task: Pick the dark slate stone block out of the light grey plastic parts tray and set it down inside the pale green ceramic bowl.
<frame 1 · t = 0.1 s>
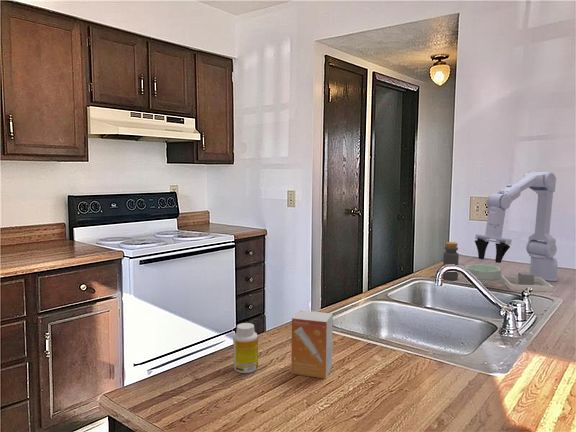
hand: (489, 260, 175), 10 cm above the countertop, tool pointing down, fingers open, 7 cm apart
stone: (525, 286, 180), resting in parts tray
supplement bottle: (245, 369, 107), on the countertop
bottle: (450, 279, 191), on the countertop
parts tray: (525, 285, 180), on the countertop
small box: (312, 371, 105), on the countertop
bowl: (482, 276, 196), on the countertop
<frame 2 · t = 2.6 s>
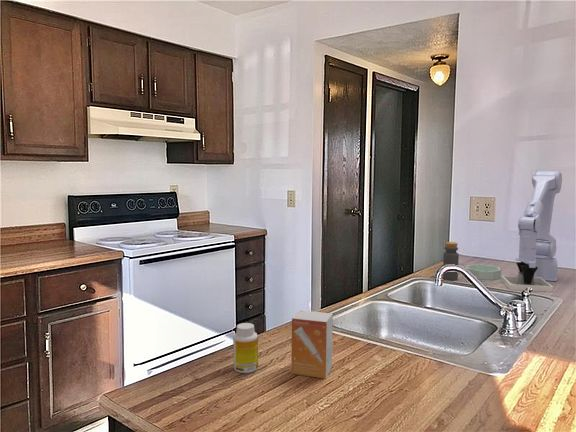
hand: (525, 282, 179), 1 cm above the countertop, tool pointing down, fingers closed on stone, 4 cm apart
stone: (525, 286, 180), resting in parts tray, touching gripper
everything else where it was.
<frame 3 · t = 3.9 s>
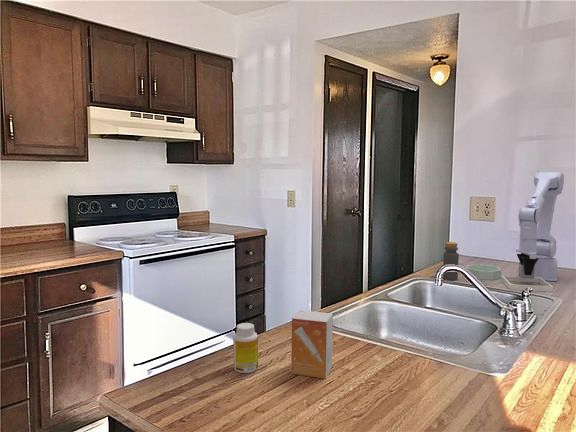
hand: (526, 273, 179), 5 cm above the countertop, tool pointing down, fingers closed on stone, 4 cm apart
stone: (526, 277, 179), point 3 cm above the countertop, touching gripper
everything else where it was.
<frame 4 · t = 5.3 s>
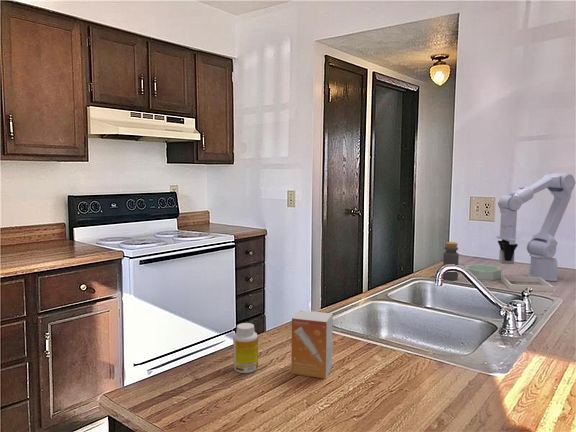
hand: (506, 259, 186), 9 cm above the countertop, tool pointing down, fingers closed on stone, 4 cm apart
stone: (506, 263, 186), point 7 cm above the countertop, touching gripper
everything else where it was.
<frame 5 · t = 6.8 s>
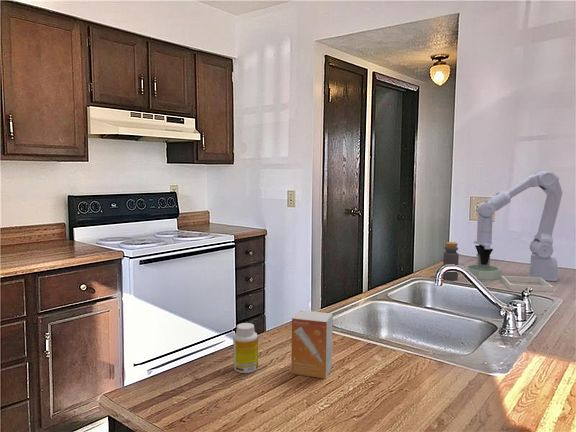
hand: (483, 263, 195), 5 cm above the countertop, tool pointing down, fingers closed on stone, 4 cm apart
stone: (482, 266, 196), point 4 cm above the countertop, touching gripper
everything else where it was.
when the fingers open (4 cm above the countertop, at t = 7.9 s): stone drops 1 cm, resting on bowl.
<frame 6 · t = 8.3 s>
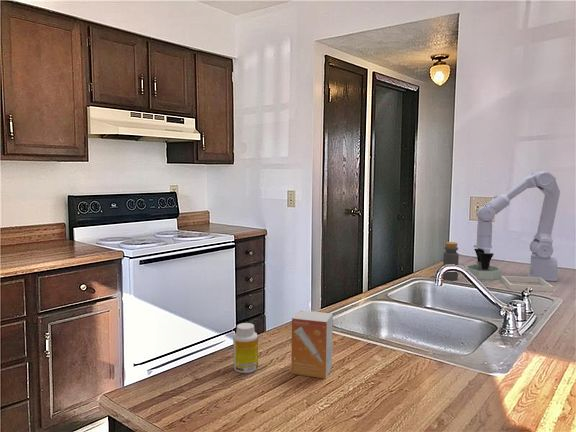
hand: (482, 267, 196), 4 cm above the countertop, tool pointing down, fingers open, 7 cm apart
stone: (482, 274, 196), point 1 cm above the countertop, touching bowl
everything else where it was.
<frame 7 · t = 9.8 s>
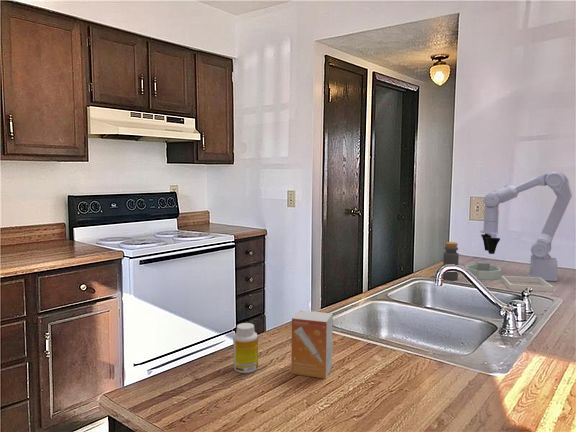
hand: (489, 252, 202), 9 cm above the countertop, tool pointing down, fingers open, 7 cm apart
nothing on the countertop moved.
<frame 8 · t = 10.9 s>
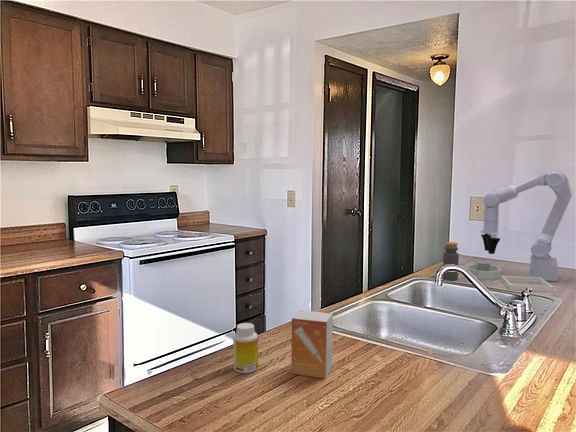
hand: (489, 252, 202), 9 cm above the countertop, tool pointing down, fingers open, 7 cm apart
nothing on the countertop moved.
at the end: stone inside the target area on the bowl (0.0 cm from its centre), point 0.8 cm above the bowl's base; the gripper is holding nothing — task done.
